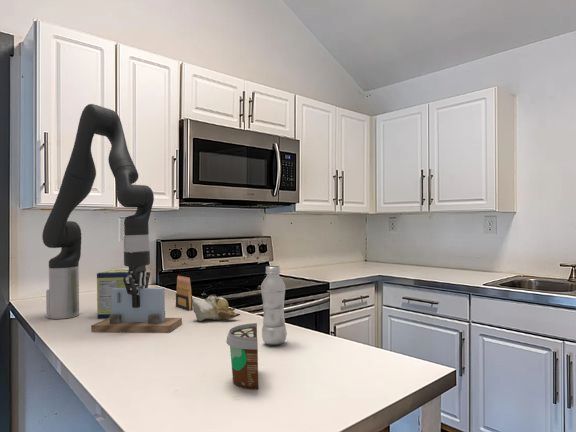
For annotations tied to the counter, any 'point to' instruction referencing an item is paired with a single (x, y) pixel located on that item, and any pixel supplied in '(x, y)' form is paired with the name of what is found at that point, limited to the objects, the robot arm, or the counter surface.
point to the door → (149, 304)
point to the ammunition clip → (184, 293)
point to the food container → (244, 355)
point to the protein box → (108, 289)
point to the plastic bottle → (273, 307)
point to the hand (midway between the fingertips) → (138, 306)
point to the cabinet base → (137, 325)
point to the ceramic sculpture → (213, 309)
